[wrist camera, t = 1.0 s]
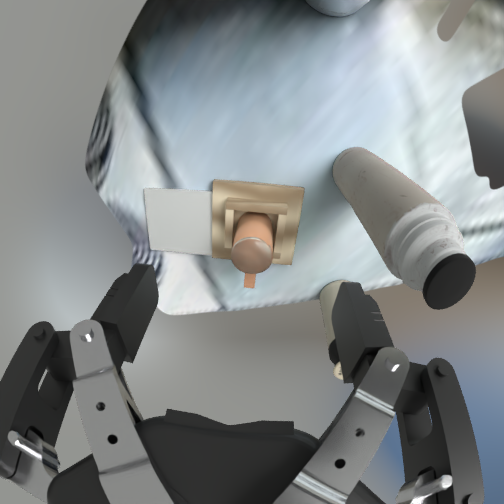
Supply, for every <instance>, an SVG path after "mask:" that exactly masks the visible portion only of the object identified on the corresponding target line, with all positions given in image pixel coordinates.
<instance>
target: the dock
mask: <svg viewBox="0 0 504 504" xmlns="http://www.w3.org/2000/svg"><path fill="white" fill-rule="evenodd" d="M304 191H305V190H304V188H302V187H294V186H285V185H276V184H266V183H256V182H244V181H231V180H217V179H214V181H213V200H212V258H221V259H231V252H232V247H233V243H234V238H235V234H236V229H237V225H238V221H239V219H240V217H241V216H242V215H243V214H244V213H246V212H248V211H249V212H260V213H265V214H267V215H268V216H269V218H270V219H271V221H272V235H273V260H272V263H273V264H284V265H291V264H292V259H293V254H294V248H295V243H296V237H297V232H298V226H299V220H300V215H301V209H302V203H303V197H304Z"/></svg>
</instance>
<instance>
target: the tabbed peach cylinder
mask: <svg viewBox="0 0 504 504" xmlns="http://www.w3.org/2000/svg"><path fill="white" fill-rule="evenodd" d="M231 260H232V262H233V264H234V266H235V267H236V268H237V269H239V270H240V271H242V272H244V273H245V279H244V287H246V288H254V286H255V276H256V274H257V273H261V272H263V271H265V270H266V269H268V268H269V266H270V265H271V263H272V260H273V235H272V221H271V219H270V218H269V216H268V215H267V214H265V213H260V212H249V211H248V212H246V213H244V214H243V215H242V216H241V217H240V219H239V221H238V225H237V229H236V234H235V238H234V243H233V247H232V252H231Z"/></svg>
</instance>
